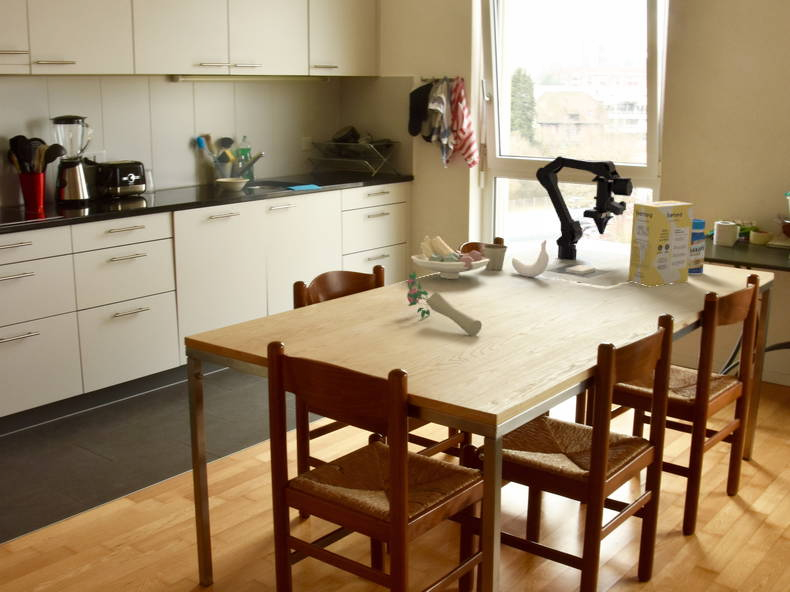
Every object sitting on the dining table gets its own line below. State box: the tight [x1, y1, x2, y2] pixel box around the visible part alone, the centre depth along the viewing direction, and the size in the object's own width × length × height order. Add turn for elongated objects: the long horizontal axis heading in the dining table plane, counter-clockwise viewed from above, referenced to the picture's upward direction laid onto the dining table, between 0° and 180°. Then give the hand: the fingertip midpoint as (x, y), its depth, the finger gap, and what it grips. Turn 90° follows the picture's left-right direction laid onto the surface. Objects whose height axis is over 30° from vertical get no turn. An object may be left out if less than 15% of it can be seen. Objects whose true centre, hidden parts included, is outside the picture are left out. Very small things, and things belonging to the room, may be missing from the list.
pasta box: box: [628, 199, 695, 287], centre depth 311 cm, size 18×10×28 cm, turn 119°
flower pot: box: [482, 243, 508, 271], centre depth 334 cm, size 9×9×9 cm
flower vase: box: [406, 270, 482, 337], centre depth 259 cm, size 12×12×35 cm
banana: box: [511, 239, 550, 278], centre depth 320 cm, size 5×19×15 cm, turn 36°
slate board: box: [545, 264, 611, 279], centre depth 328 cm, size 18×16×1 cm
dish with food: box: [410, 235, 490, 280], centre depth 318 cm, size 28×28×14 cm
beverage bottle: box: [688, 218, 707, 276], centre depth 326 cm, size 8×8×20 cm
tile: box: [566, 264, 596, 275], centre depth 327 cm, size 7×1×9 cm
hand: (601, 234), depth 341 cm, fingers closed
